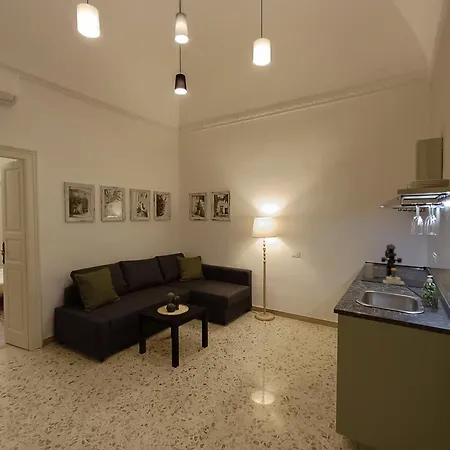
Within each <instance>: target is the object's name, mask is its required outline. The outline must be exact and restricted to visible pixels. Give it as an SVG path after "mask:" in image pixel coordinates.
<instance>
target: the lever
mask: <svg viewBox="0 0 450 450" xmlns="http://www.w3.org/2000/svg"><path fill="white" fill-rule="evenodd" d="M391 270H392V276H391V277H394V278H395V276H396V272H397V267H396V268H391Z"/></svg>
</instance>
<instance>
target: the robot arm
mask: <svg viewBox="0 0 450 450" xmlns="http://www.w3.org/2000/svg"><path fill="white" fill-rule="evenodd" d="M395 249H396V246H395V245H394V244H392V243H390V244H387V245H386V250H385V251H384V257H383V256H381V259H380V260H381V263H385V262H386V261H387V263H386V266H385V271H386V277H390V275H391V277H392V270H391V268H396V269H397V266H396V265H395V264H396V263H397V264H399V263H400V264H402V260H403V259H402V257H397V252H395ZM396 257H397V258H396Z"/></svg>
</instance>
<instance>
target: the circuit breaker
mask: <svg viewBox="0 0 450 450" xmlns="http://www.w3.org/2000/svg"><path fill="white" fill-rule="evenodd" d="M363 265H364V273H363V274H364V275H363V277H364V278H365V279H375V276H379V275H380V272H381V269H380V268H379V267H378V266H375V264H374V263H373V262H372V263H371V262H370V263H369V262H367V263H366V262H364V264H363Z"/></svg>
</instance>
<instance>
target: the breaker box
mask: <svg viewBox="0 0 450 450" xmlns="http://www.w3.org/2000/svg"><path fill="white" fill-rule="evenodd" d="M385 277H386V278H385V279H382V283H383V284H385V285H386V284H387V285H399V286H405V282H404V281H402V280H401V277H398V276H397V275H395V278H394V277H392V276H391V275H390V276H385Z"/></svg>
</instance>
